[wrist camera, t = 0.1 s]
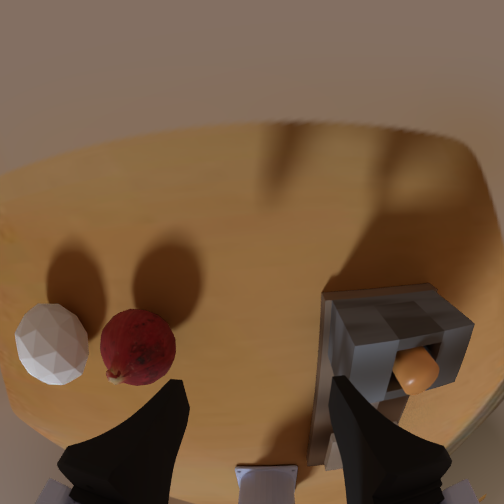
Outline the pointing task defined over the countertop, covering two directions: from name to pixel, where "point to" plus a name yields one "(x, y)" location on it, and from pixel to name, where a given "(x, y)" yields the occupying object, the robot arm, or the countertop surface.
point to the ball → (52, 344)
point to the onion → (137, 347)
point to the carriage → (334, 454)
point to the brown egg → (415, 370)
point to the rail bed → (381, 348)
